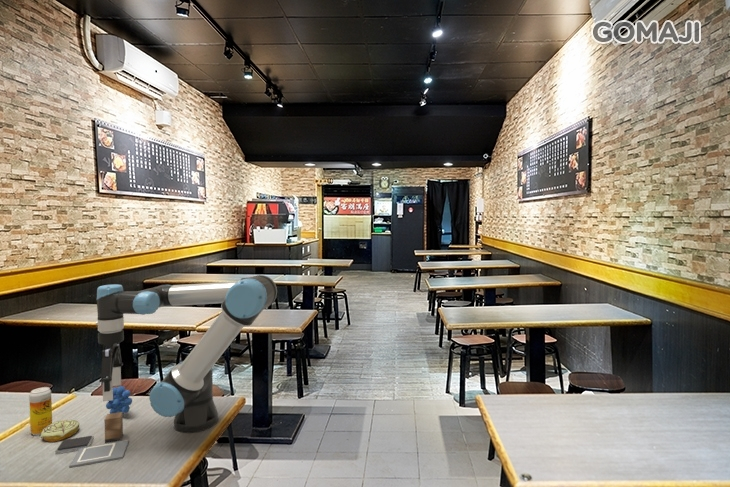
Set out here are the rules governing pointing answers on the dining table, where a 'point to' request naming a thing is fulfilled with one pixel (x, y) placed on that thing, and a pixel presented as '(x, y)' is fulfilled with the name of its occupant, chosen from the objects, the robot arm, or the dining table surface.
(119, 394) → the grapes
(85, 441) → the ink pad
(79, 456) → the board
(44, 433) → the decorated donut
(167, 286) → the robot arm
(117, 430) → the brown wooden block
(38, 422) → the beer can
